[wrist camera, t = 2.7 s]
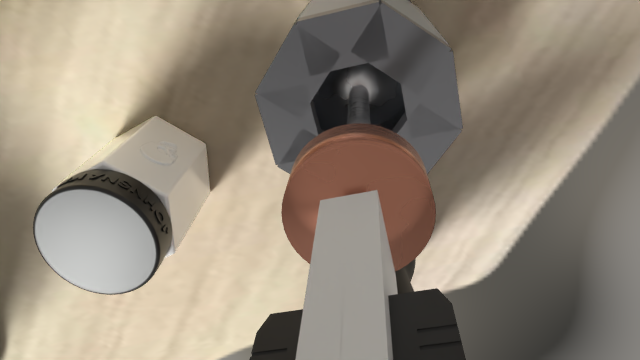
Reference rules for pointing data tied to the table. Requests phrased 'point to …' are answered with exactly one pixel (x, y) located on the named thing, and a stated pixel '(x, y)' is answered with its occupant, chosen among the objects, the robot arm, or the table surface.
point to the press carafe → (355, 49)
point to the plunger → (361, 163)
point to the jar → (124, 208)
